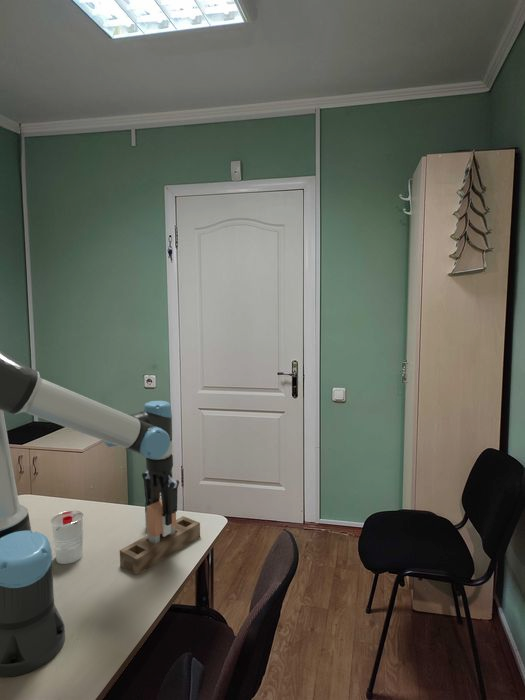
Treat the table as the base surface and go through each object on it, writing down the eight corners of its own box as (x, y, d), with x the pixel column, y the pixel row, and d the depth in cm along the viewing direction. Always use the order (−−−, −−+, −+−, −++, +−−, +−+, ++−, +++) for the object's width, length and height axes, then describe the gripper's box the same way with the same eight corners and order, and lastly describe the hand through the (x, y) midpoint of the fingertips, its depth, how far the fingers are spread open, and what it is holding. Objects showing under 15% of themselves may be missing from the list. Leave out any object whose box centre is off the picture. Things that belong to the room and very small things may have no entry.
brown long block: (137, 575, 120) (136, 559, 119) (120, 565, 124) (119, 550, 124) (200, 536, 139) (199, 522, 139) (183, 529, 143) (183, 516, 143)
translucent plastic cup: (72, 569, 123) (69, 527, 121) (44, 565, 124) (42, 524, 123) (92, 549, 132) (90, 510, 131) (67, 546, 134) (65, 508, 133)
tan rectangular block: (155, 550, 127) (154, 510, 126) (147, 546, 129) (146, 506, 128) (176, 537, 134) (175, 499, 132) (168, 534, 136) (167, 496, 134)
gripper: (189, 457, 126) (191, 535, 129) (150, 446, 136) (153, 519, 139) (169, 465, 120) (171, 547, 123) (130, 452, 130) (133, 529, 133)
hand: (161, 532), depth 131 cm, fingers closed on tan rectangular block, 3 cm apart
